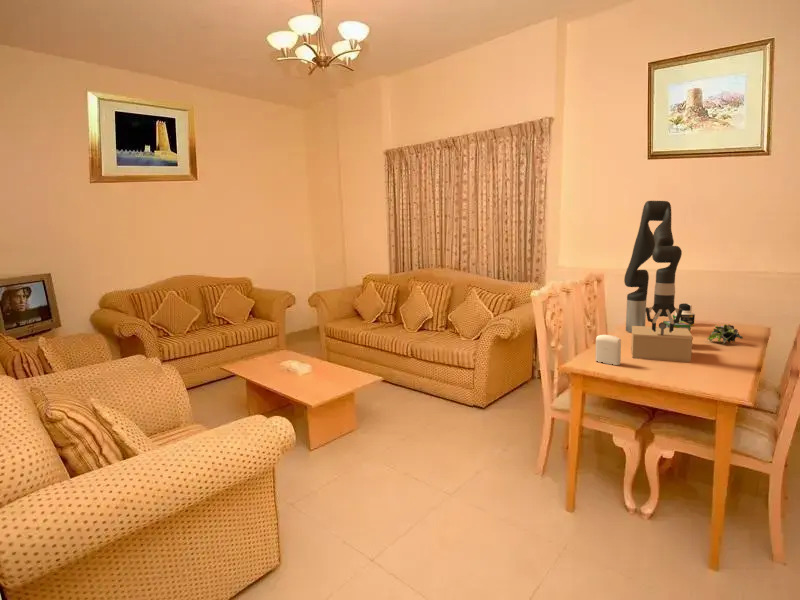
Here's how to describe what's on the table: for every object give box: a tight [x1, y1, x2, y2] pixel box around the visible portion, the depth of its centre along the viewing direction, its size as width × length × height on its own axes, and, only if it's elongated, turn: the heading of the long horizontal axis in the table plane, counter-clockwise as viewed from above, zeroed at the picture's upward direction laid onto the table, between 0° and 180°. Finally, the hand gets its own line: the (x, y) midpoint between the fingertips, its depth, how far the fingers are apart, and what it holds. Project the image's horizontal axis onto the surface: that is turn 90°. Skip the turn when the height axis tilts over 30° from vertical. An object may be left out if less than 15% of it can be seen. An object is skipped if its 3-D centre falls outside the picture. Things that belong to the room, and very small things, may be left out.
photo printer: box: [595, 334, 622, 366], centre depth 195 cm, size 10×4×12 cm, turn 45°
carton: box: [630, 332, 693, 363], centre depth 203 cm, size 16×22×10 cm
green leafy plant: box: [706, 323, 744, 346], centre depth 215 cm, size 11×11×12 cm
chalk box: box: [662, 314, 691, 333], centre depth 214 cm, size 9×9×15 cm
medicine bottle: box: [674, 303, 696, 328], centre depth 251 cm, size 7×7×12 cm
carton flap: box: [631, 321, 694, 340], centre depth 201 cm, size 16×22×6 cm
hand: (662, 331), depth 196 cm, fingers open, 5 cm apart
